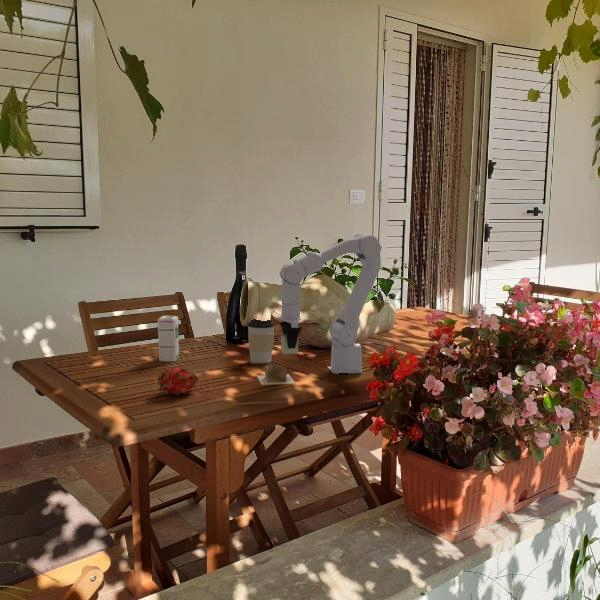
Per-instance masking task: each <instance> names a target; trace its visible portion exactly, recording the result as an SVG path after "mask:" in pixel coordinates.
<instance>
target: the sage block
mask: <svg viewBox="0 0 600 600" xmlns="http://www.w3.org/2000/svg"><path fill="white" fill-rule="evenodd" d="M280 338H281V339H280V341H281V342H280V343H281V344H280V351H281V353H282V354H283V355H292V354H293V355H295V354H299V338H298V339H297V343H296V347H295V348H288V345H287V337H286V335H283V334H281V335H280Z"/></svg>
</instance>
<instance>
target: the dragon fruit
mask: <svg viewBox="0 0 600 600" xmlns="http://www.w3.org/2000/svg"><path fill="white" fill-rule="evenodd" d="M157 380H158V381H156V383H157V385H158V386H159V387H160V388H159V391H160V392H162V393H163V392H164V393H165V392H167V394H168V395H169V396H171V395H174V396H177V397H178V396H180V394H185V395H189V394H190V393H192V392H193V391H192V390H191V389H193V388H194V387H195V385H196V383H197V382H198V381H199V378H198V376H197V374H195V373H193V372H192V371H189V370H188V371H187V370H186V367H185V366H182V367H180V368H178V366H174V367H172V368H169V367H165V370H163V371H162V372H161V374H159V375H158V376H157Z"/></svg>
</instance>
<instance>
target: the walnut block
mask: <svg viewBox="0 0 600 600" xmlns="http://www.w3.org/2000/svg"><path fill="white" fill-rule="evenodd" d="M264 369H265V370H264V371H265V374H264V375H265V378H266V380H267V381H268V382H286V374H287V368H286V367H285V366H284V365H265V366H264Z"/></svg>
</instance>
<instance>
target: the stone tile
mask: <svg viewBox="0 0 600 600" xmlns="http://www.w3.org/2000/svg"><path fill="white" fill-rule="evenodd" d="M256 378H257V379H258V381H259V383H260V384H261V386H266V385H269V386H270V385H271V386H272V385H289V384H290V385H291V384H294V385H295V384H296V382H295V381H294V379H293V378H292V376H291V375H290V374H289V373H286V382H268V381H267V380H266V378H265V374H263V375H256Z"/></svg>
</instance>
